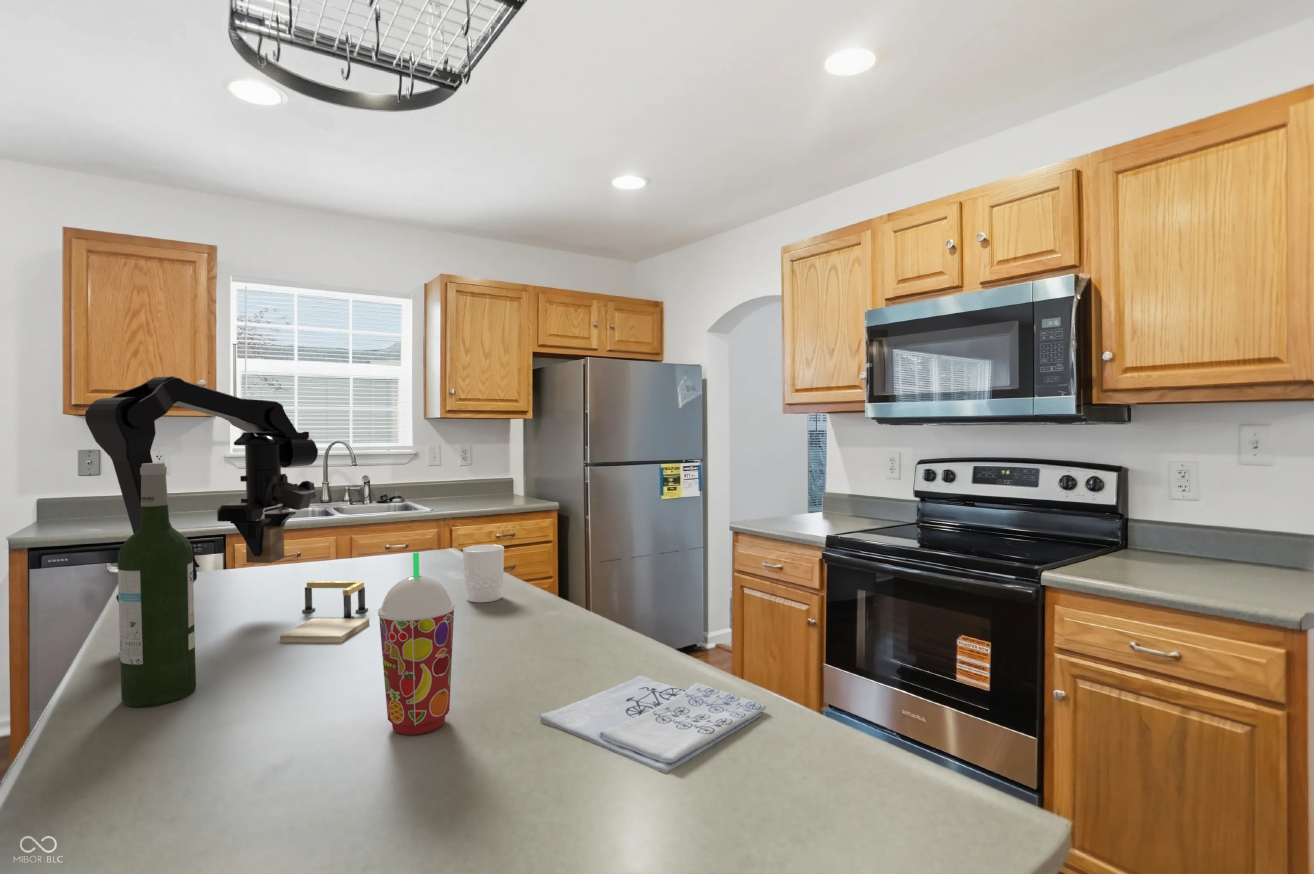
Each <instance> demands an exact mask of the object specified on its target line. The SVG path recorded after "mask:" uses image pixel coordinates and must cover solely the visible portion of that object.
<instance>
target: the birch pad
mask: <svg viewBox="0 0 1314 874" xmlns="http://www.w3.org/2000/svg"><path fill="white" fill-rule="evenodd" d="M369 625H370V618H354V619H341V618H323V617H322V618H320V617H319V618H311V619H309V620H307V621H305V622H303V623H301V624H299V625H298V626H295V627H294V628H292V629H291V630H288V631H286V632H284V633H282V634H281V635H279V643H328V644H329V643H340V644H341V643H343V642H345V641H346V640H347V639H349V638H351V637H352V636H354V635H355V634H357V633H359V632H360V631H362V630H363V629H364V628H366V627H367V626H369Z"/></svg>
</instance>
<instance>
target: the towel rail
mask: <svg viewBox="0 0 1314 874" xmlns="http://www.w3.org/2000/svg"><path fill="white" fill-rule="evenodd" d="M313 589H342V596H343V617H342V618H341V617H340V619H355V616H354V615H352V595H353V594H354V593H357V606H358V607H357V609H355V614H366V613H367V612H368V611H369V608H368V607H366V587H365V582H363V581H356V580H355V581H348V580H347V581H341V580H340V581H333V580H332V581H323V580H322V581H318V580H317V581H308V582H306V586H305V587H304V609H302V610H301V611H302V614H305V613H306V614H308V613H309V614H310V613H313V612H315V611H316V607H313Z"/></svg>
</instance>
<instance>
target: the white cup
mask: <svg viewBox="0 0 1314 874" xmlns="http://www.w3.org/2000/svg"><path fill="white" fill-rule="evenodd" d="M462 555H463V556H462V557H463V572H464V582H465V583H464V585H465V587H466V588H465V592H466V600H467V602H472V603H490V602H495V601H499V600H501V599H502V597H503V584H504V566H505V564H504V563H505V547H504V546H503V545H500V544H476V545H471V546H470V545H469V546H466V547H463V548H462Z"/></svg>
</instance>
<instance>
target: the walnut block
mask: <svg viewBox="0 0 1314 874" xmlns="http://www.w3.org/2000/svg"><path fill="white" fill-rule="evenodd" d="M284 531H285V525H284V526H265V527H264V532H263V544H262V553H261V556H254V555H253V553H252V551H251V550H250V548H249V546H248V545H247V543H246V542H245V554H246V556H245V557H246V558H245V559H246V563H245V564H253V563H254V564H266V563H267V564H271V563H274V562H277V561H279V560H282V559H285V532H284Z"/></svg>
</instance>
